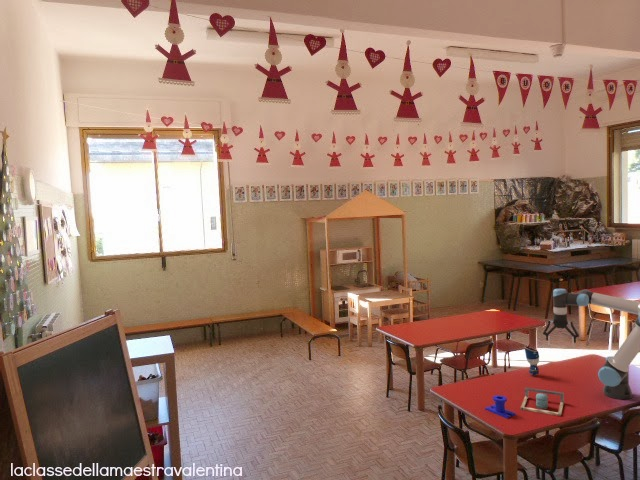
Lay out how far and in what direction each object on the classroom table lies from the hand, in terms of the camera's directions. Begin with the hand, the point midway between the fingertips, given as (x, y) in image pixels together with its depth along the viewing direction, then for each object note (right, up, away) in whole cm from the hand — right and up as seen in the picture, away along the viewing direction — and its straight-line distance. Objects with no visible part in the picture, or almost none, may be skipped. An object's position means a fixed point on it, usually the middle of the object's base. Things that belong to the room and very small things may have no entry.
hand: (561, 346), depth 299 cm
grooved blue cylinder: (-22, -31, -21) cm, 43 cm away
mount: (-48, -32, -26) cm, 64 cm away
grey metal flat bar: (-17, -30, -12) cm, 36 cm away
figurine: (-5, -27, +30) cm, 41 cm away
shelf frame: (-21, -30, -20) cm, 42 cm away
